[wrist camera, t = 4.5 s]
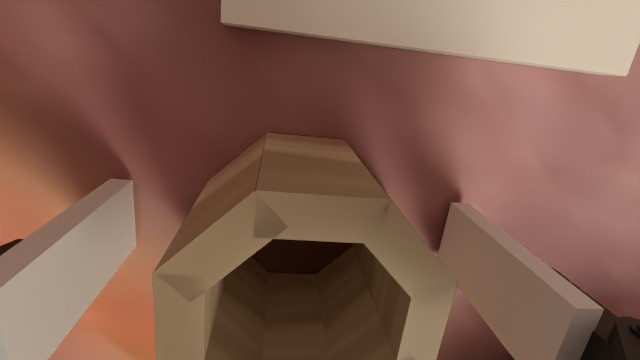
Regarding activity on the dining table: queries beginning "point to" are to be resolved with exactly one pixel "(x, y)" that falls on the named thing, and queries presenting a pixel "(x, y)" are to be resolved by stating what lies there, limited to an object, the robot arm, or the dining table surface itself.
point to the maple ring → (299, 289)
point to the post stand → (464, 28)
